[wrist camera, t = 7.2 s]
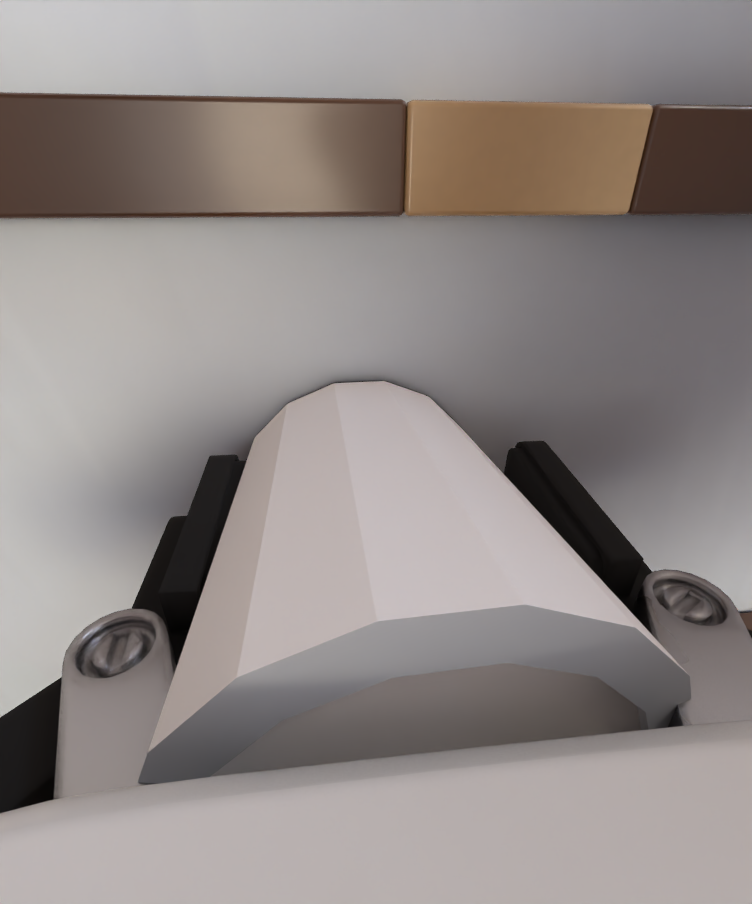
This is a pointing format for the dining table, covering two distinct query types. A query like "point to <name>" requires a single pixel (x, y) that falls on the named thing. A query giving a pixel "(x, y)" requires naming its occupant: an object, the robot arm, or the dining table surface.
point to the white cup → (394, 606)
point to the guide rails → (367, 158)
